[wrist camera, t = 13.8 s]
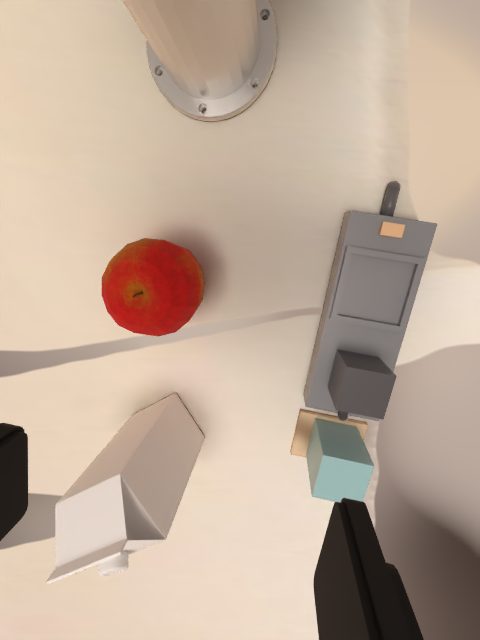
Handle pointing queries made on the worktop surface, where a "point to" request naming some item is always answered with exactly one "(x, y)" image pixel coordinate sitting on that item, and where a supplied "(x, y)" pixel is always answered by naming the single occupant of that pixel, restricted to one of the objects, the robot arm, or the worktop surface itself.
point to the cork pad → (306, 426)
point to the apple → (152, 287)
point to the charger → (338, 462)
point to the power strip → (367, 310)
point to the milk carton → (127, 491)
